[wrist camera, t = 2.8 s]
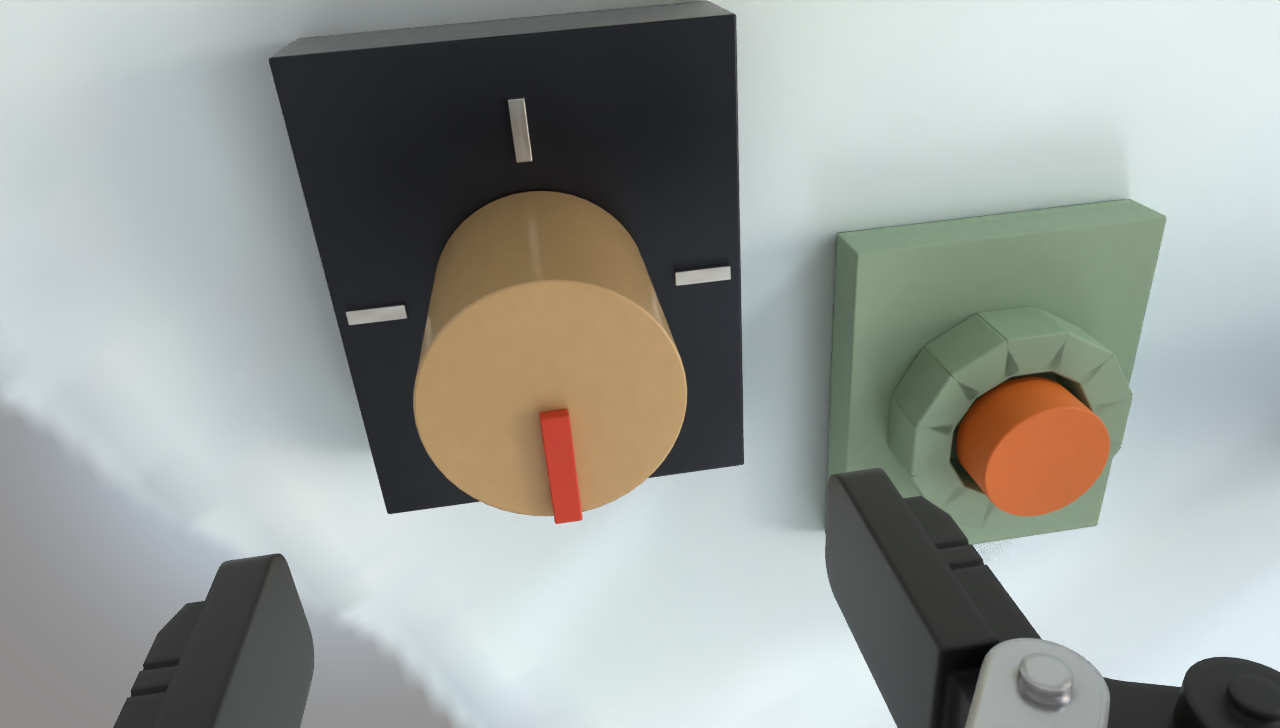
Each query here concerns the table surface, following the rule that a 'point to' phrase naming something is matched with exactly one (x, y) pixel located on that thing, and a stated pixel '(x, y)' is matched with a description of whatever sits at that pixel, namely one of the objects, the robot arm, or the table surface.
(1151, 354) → the table surface
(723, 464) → the panel
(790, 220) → the table surface
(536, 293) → the knob
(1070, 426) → the button
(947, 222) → the button box
